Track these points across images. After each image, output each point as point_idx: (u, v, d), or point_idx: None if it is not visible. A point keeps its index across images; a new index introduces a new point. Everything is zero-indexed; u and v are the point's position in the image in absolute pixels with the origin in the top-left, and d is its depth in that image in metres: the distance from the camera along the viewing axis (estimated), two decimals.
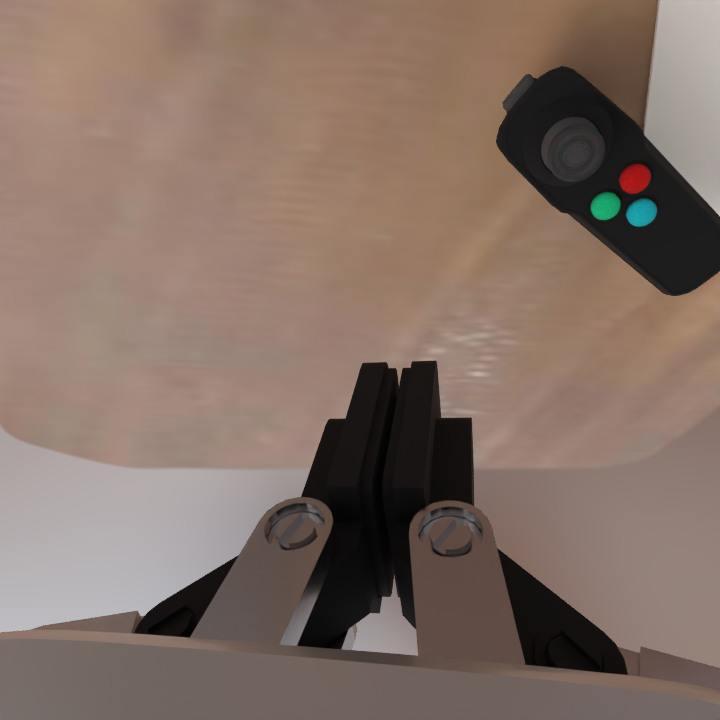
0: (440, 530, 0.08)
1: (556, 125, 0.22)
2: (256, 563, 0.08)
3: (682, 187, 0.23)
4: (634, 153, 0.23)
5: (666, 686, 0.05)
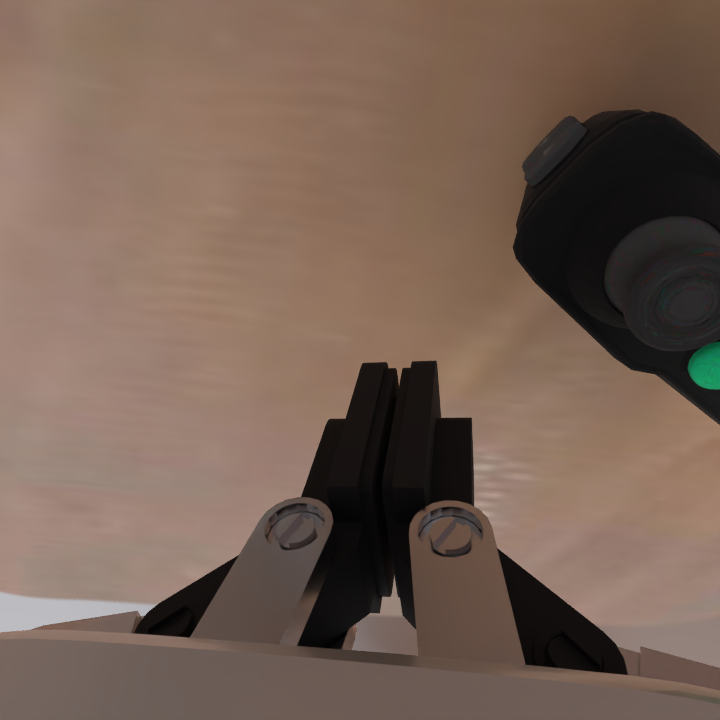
0: (440, 530, 0.08)
1: (638, 233, 0.11)
2: (256, 563, 0.08)
3: None
4: None
5: (666, 686, 0.05)
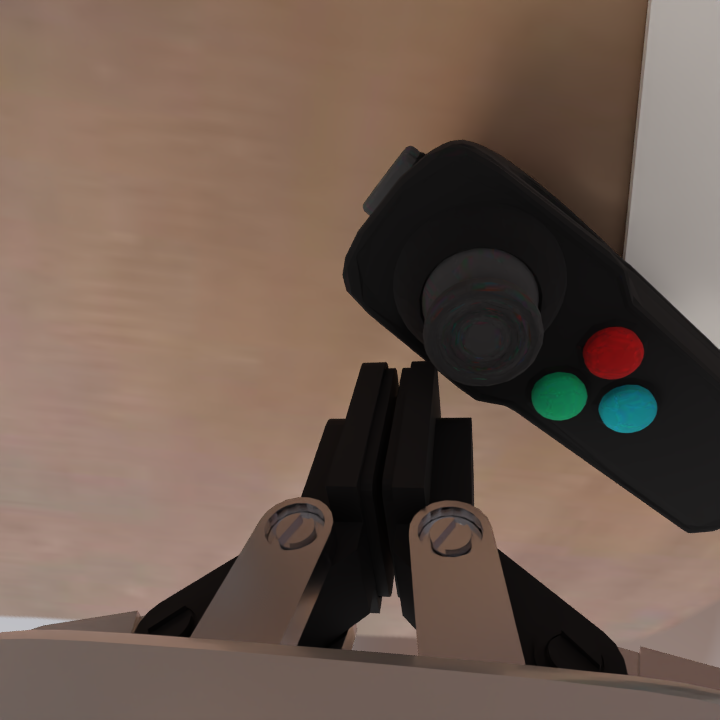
0: (440, 530, 0.08)
1: (445, 265, 0.10)
2: (256, 563, 0.08)
3: (705, 367, 0.12)
4: (610, 308, 0.11)
5: (667, 686, 0.05)
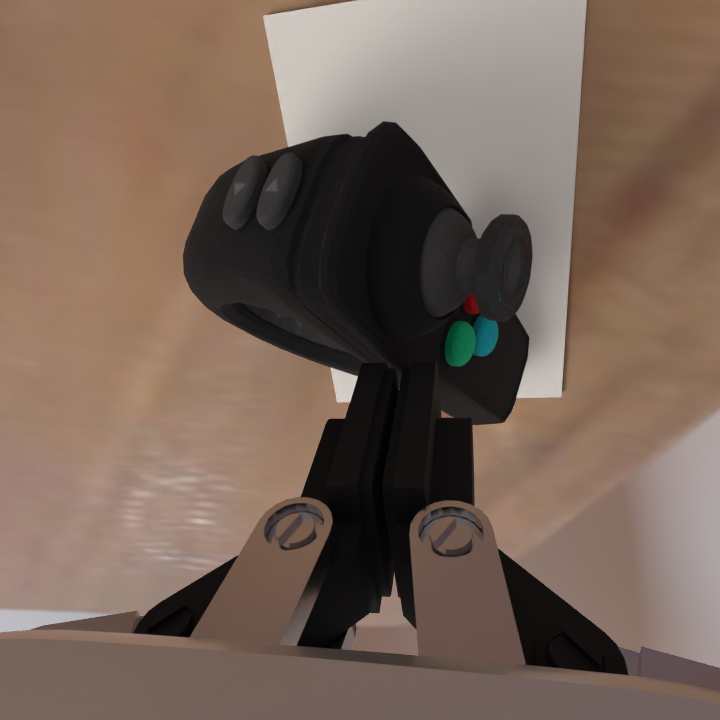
0: (440, 530, 0.08)
1: (433, 230, 0.11)
2: (255, 563, 0.08)
3: None
4: None
5: (666, 686, 0.05)
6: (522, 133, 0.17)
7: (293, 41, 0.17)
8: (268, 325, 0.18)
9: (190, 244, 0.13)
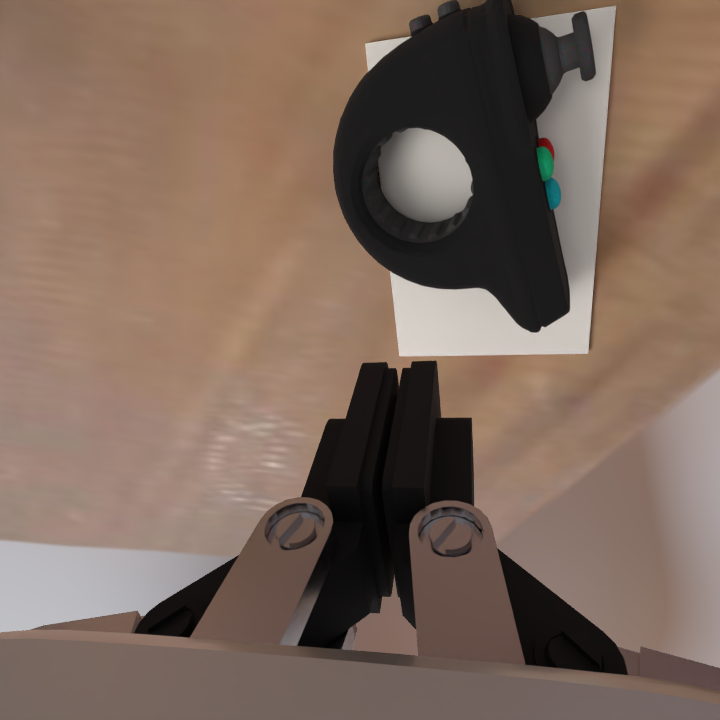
0: (440, 530, 0.08)
1: (540, 27, 0.18)
2: (256, 563, 0.08)
3: None
4: (535, 131, 0.21)
5: (666, 686, 0.05)
6: (561, 134, 0.22)
7: None
8: (371, 219, 0.22)
9: (364, 76, 0.20)
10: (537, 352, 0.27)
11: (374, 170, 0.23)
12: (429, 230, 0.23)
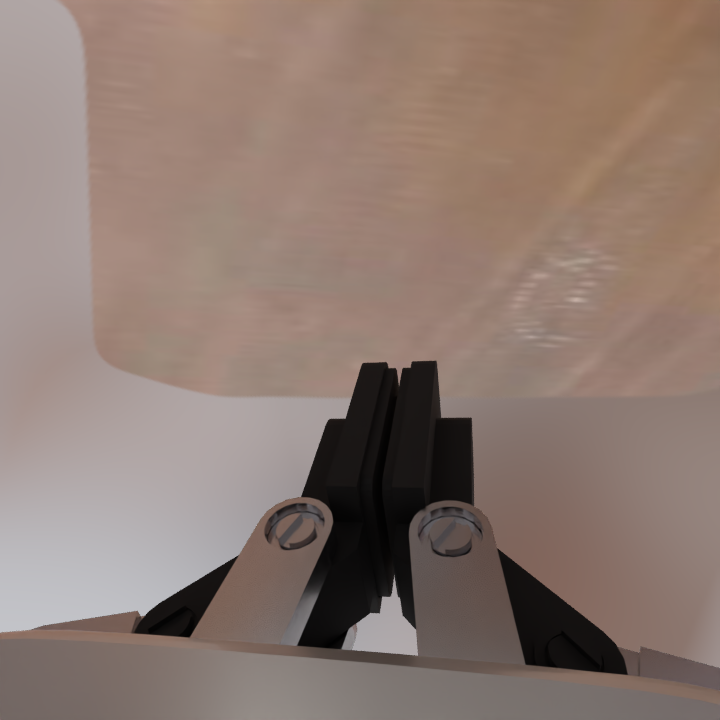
0: (440, 530, 0.08)
1: None
2: (256, 563, 0.08)
3: None
4: None
5: (666, 686, 0.05)
6: None
7: None
8: None
9: None
10: None
11: None
12: None
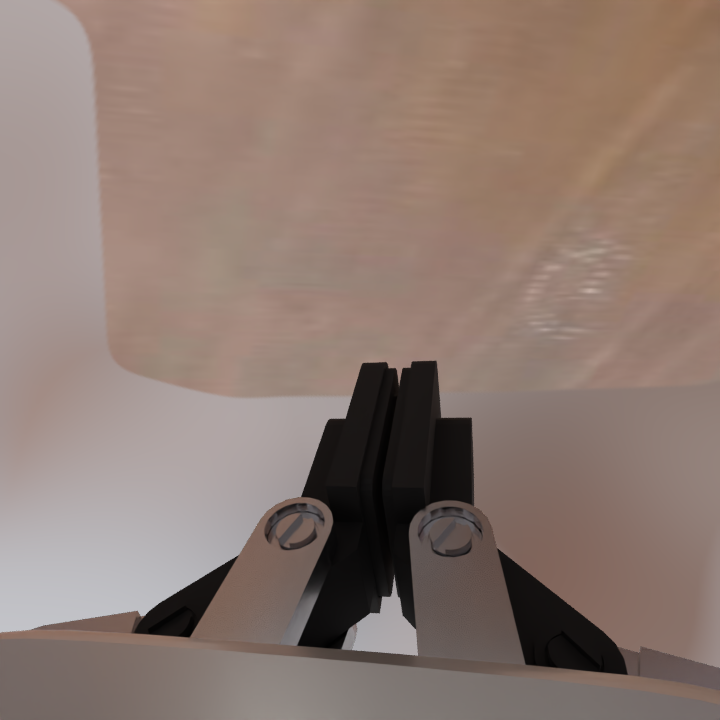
0: (440, 530, 0.08)
1: None
2: (256, 563, 0.08)
3: None
4: None
5: (666, 686, 0.05)
6: None
7: None
8: None
9: None
10: None
11: None
12: None
